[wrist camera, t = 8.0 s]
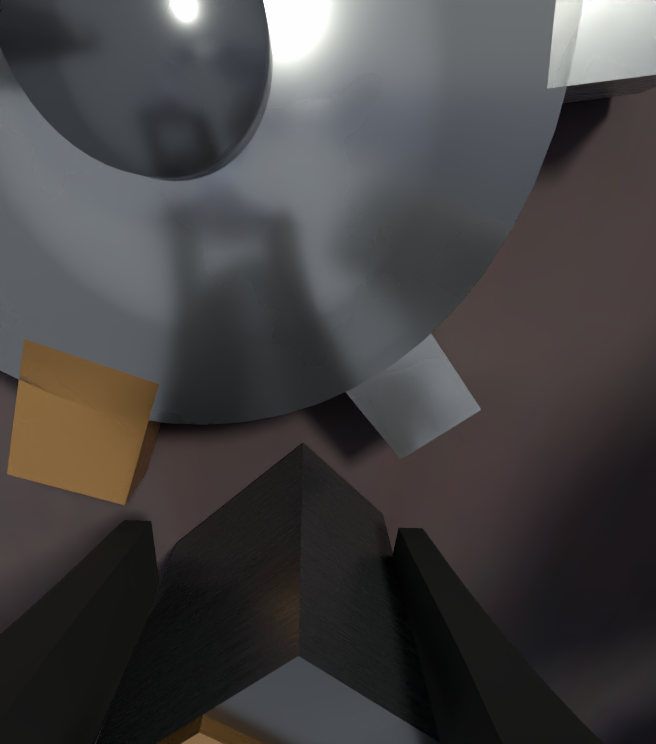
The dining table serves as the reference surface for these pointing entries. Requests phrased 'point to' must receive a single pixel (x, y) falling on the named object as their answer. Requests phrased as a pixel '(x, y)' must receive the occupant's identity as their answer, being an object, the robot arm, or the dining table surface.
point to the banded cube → (278, 627)
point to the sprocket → (266, 205)
